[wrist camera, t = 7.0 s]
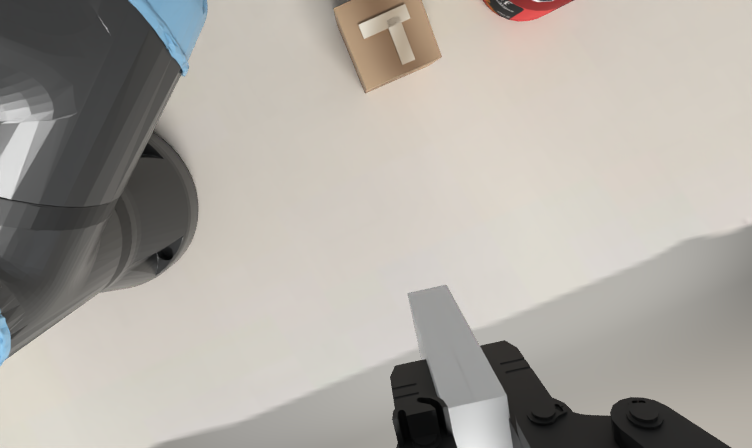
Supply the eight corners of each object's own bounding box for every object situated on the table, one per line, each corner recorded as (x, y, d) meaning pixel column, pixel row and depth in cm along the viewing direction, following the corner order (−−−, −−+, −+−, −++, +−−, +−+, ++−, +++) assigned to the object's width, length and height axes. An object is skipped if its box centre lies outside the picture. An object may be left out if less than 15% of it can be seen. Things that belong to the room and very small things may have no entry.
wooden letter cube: (365, 93, 38) (366, 89, 32) (337, 24, 37) (333, 7, 31) (428, 65, 38) (442, 56, 32) (403, -5, 37) (412, -28, 31)
